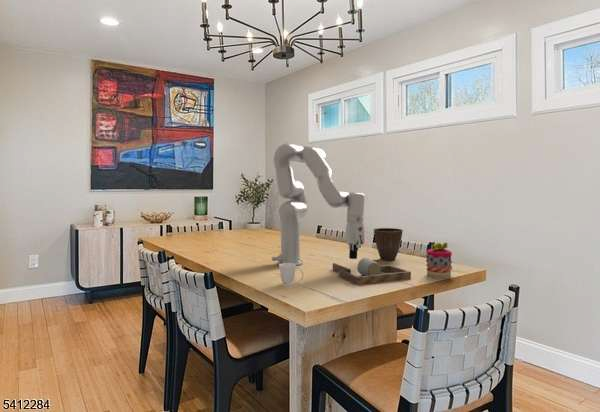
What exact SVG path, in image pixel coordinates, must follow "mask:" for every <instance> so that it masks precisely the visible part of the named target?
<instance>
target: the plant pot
mask: <svg viewBox="0 0 600 412" xmlns="http://www.w3.org/2000/svg"><path fill="white" fill-rule="evenodd" d="M373 234H374V235H373V236H374V240H375V245H376V249H377V252H378V255H379V258H380V260H381V261H384V262H385V261H386V262H393V261H395V260H396V258H397V256H398V253H399V250H400V246H401V243H402V237H403V229H402V228H395V227H393V228H392V227H391V228H389V227H385V228H384V227H382V228H374V229H373Z"/></svg>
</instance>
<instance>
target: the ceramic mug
mask: <svg viewBox="0 0 600 412" xmlns="http://www.w3.org/2000/svg"><path fill="white" fill-rule="evenodd" d="M358 261H359V262H358V263H357V268H356V269H357V271H358V273H359V274H360V275H362V276H370V275H379V274H385V273H383V272H381V267H380V265H381V264H379V263H378V262H377V261H374V260H372V259H370V258H368V257H364V258H361V259H360V260H358Z"/></svg>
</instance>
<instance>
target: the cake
mask: <svg viewBox="0 0 600 412" xmlns="http://www.w3.org/2000/svg"><path fill="white" fill-rule="evenodd" d="M432 245H433V246H432V247H433V248H429V249H427V250H426V259H425V260H426V261H425V262H426V264H425V266H426V267H427V268H426V276H428V277H429V278H435V279H448V278H451V276H452V275H451V274H452V269H453V266H452V255H453V253H452V251H451V250H449V249H447V248H448V242H443V243H440V242H435V243H433V244H432Z"/></svg>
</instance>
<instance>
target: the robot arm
mask: <svg viewBox="0 0 600 412" xmlns="http://www.w3.org/2000/svg"><path fill="white" fill-rule="evenodd" d="M326 160H327V157H326V153H325V151H324V150H323V149H322V148H320V147H314V146H305V145H301V144H296V143H288V142H287V143H283V144H281V145H280V146H278V148H276V149H275V152H274V155H273V165H274V169H275V175H276V176H275V177H276V183H277V191H278V194H279V196H280V197H281V198H283V199H288V201H285V202H283V203H281V205H280V206H279V208H278V216H279V221H280V254H279V255H277V256H272V257H271V260H272V261H273V262H274V261H276V262H277V264H278V265H279V264H282V263H294V264H296V266H301V265H303V263H304V261H303V259H302V260H301V252H300V251H301V238H300V237H301V235H300V233H301V231H300V229H301V228H300V227H301V226H300V223H299V219H302V218H304V217H305V216H306V215H307V213H308V205H307V197H306V191H305V187H304V185H303V183H302V182H301V181H300V180H298V179H295V178H294V171H293V167H292V164H291V163H290V162H297V163H304V164H305V165H306V166H307V168H308V169H309V170H310V172H311V173H312V175H313V177H314V178H315V180H316V184H317V187H318V189H319V192H320V194H321V195H322V196H321V197H323V199H324V200H325V201H326V203H327V204H328V205H329V207H331V208H334V209H338V208H347V210H346V227H345V236H344V237H345V238H344V239H345V242H346V244H347V245H348V250H349V252H348V253H349V256H348V258H349V259H350V260H357V258H358V251H359V249H361V247H362V245H364V244H365V227H364V226H365V225H364V213H365V211H364V209H365V194H364V193H363V192H348V191H344V190H342V191H341V190H338V189H337V187H336V186H335V184H334V182H333V180H332V173H333V171H332V169H331V167H330V166H329V165H328V163H327V161H326Z"/></svg>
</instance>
